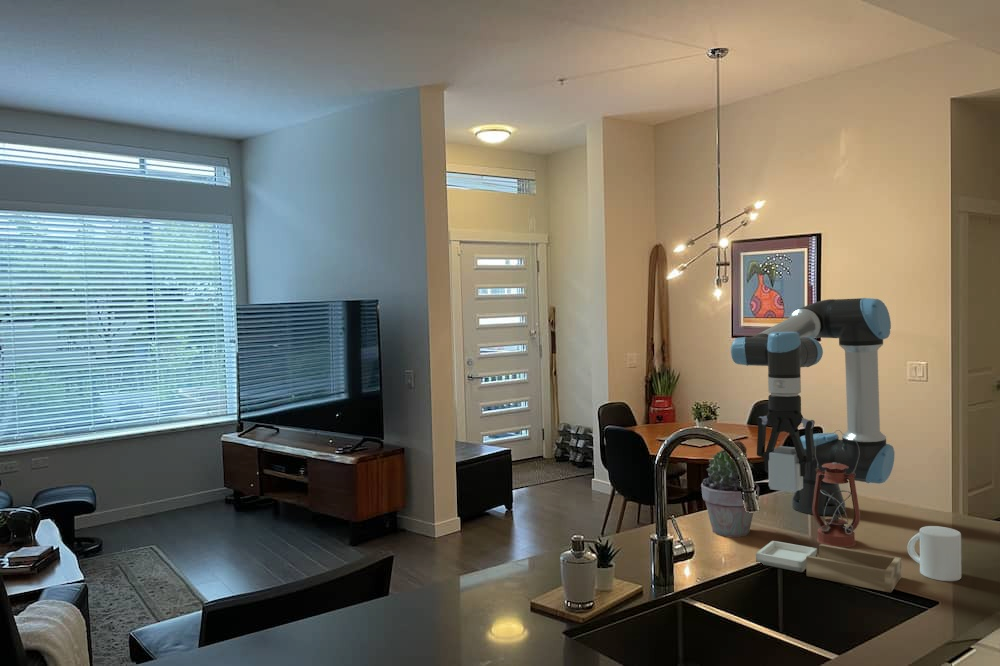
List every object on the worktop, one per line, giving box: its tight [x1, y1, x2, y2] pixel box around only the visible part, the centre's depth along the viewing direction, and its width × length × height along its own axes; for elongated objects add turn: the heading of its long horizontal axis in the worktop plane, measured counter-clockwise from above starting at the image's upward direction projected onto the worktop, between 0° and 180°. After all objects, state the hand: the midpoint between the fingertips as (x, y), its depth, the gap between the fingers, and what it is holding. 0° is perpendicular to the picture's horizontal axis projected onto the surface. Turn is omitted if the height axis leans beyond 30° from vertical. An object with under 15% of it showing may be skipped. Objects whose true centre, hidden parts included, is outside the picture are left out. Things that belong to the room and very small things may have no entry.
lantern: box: [812, 429, 861, 548], centre depth 196 cm, size 10×10×30 cm
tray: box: [755, 540, 818, 573], centre depth 183 cm, size 12×11×2 cm
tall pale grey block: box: [769, 445, 799, 493], centre depth 182 cm, size 6×6×10 cm
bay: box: [805, 543, 902, 593], centre depth 171 cm, size 11×18×4 cm, turn 51°
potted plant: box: [697, 440, 760, 538], centre depth 206 cm, size 18×20×25 cm
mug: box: [906, 525, 962, 582], centre depth 172 cm, size 8×10×12 cm
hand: (785, 487), depth 182 cm, fingers closed on tall pale grey block, 6 cm apart
